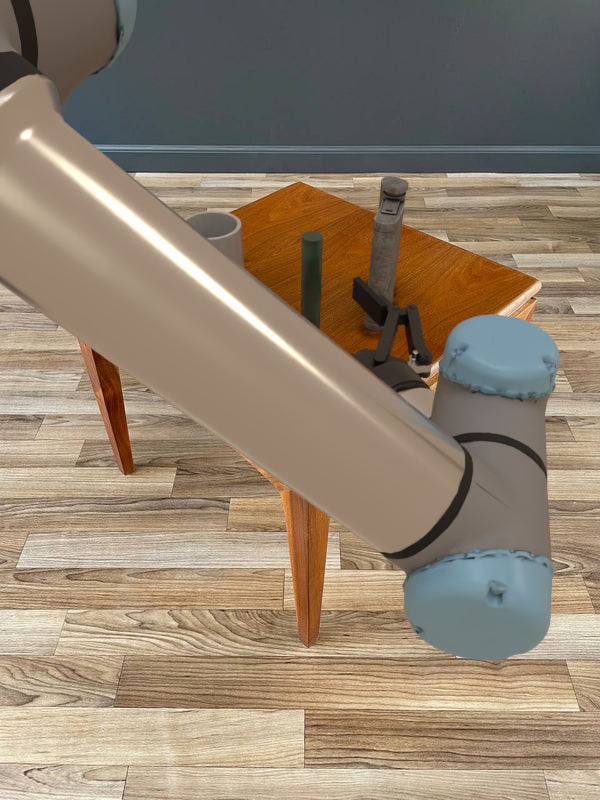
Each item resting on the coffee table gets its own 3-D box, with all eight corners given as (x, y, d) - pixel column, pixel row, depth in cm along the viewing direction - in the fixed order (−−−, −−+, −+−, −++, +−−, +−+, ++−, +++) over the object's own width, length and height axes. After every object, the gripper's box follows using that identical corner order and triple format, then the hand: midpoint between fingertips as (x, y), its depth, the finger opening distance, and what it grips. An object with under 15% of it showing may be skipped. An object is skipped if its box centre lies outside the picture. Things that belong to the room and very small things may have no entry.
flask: (396, 278, 98) (411, 160, 85) (390, 332, 87) (405, 207, 75) (372, 275, 98) (383, 158, 86) (363, 329, 87) (374, 205, 75)
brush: (288, 395, 77) (286, 246, 64) (291, 370, 81) (291, 224, 68) (327, 397, 77) (334, 248, 64) (329, 372, 81) (336, 226, 67)
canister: (180, 293, 94) (172, 238, 88) (192, 263, 100) (186, 209, 94) (239, 296, 93) (235, 240, 87) (248, 266, 100) (245, 212, 94)
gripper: (277, 486, 57) (202, 354, 72) (501, 408, 65) (393, 303, 80) (275, 427, 52) (195, 297, 67) (518, 350, 60) (400, 248, 75)
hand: (303, 300), depth 73 cm, fingers open, 13 cm apart
